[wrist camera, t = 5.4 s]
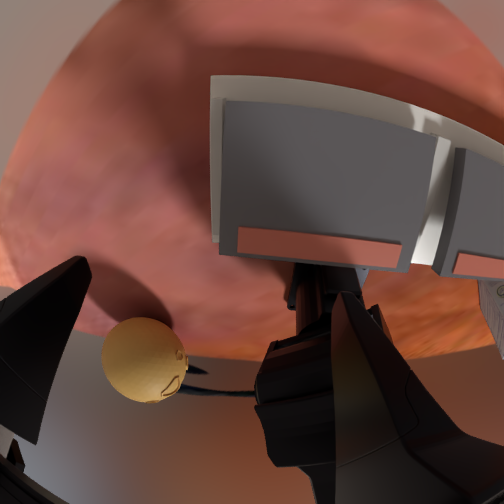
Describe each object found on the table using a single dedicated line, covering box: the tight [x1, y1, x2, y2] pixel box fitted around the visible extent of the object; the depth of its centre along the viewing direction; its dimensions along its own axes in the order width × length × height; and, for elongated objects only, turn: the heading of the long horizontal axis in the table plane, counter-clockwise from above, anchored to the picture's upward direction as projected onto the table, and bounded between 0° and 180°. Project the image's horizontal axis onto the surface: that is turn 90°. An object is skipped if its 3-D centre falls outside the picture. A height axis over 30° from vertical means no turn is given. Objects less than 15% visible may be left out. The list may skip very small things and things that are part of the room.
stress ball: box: [102, 317, 188, 403], centre depth 27 cm, size 10×10×10 cm
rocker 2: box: [431, 147, 504, 282], centre depth 13 cm, size 8×11×2 cm
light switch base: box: [210, 75, 504, 265], centre depth 15 cm, size 11×27×4 cm, turn 87°
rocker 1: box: [219, 101, 436, 273], centre depth 13 cm, size 8×11×2 cm
